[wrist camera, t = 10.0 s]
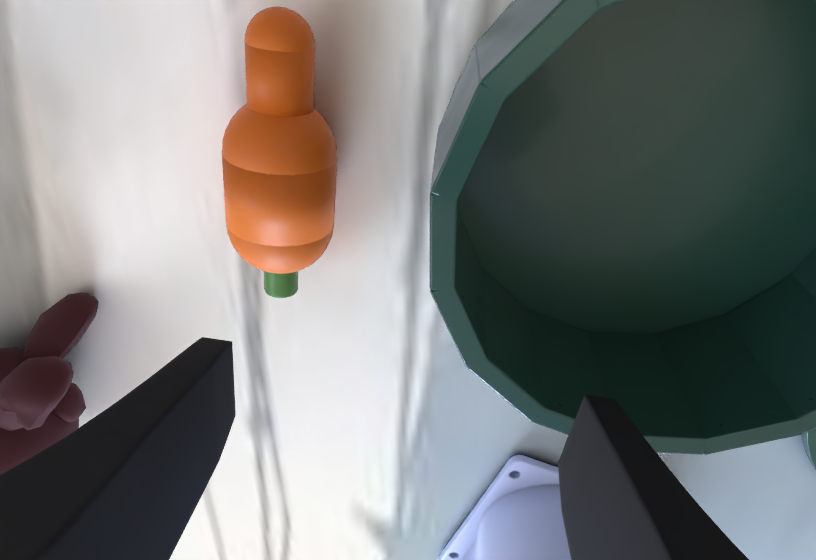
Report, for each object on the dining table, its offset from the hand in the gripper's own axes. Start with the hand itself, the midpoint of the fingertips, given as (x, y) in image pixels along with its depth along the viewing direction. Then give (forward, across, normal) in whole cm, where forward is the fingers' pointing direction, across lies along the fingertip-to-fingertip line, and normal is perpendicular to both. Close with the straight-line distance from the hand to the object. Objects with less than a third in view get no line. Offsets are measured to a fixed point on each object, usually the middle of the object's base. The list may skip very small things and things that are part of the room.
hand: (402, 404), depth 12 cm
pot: (+10, -7, -2) cm, 13 cm away
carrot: (+9, +7, -1) cm, 11 cm away
